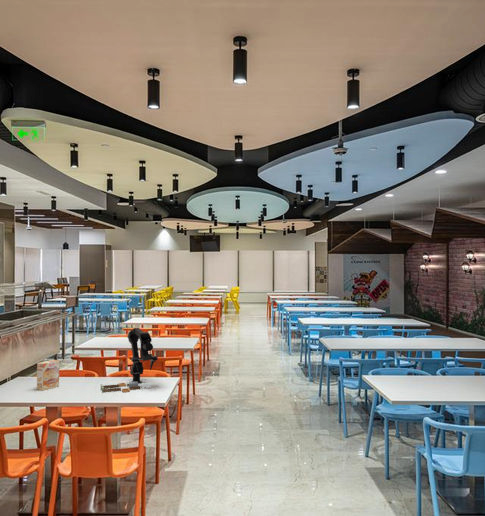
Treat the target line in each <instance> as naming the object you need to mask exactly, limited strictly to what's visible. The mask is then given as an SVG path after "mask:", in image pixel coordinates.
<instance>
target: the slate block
mask: <svg viewBox="0 0 485 516" xmlns="http://www.w3.org/2000/svg"><path fill="white" fill-rule="evenodd" d="M128 384H129V387H135V386H139V383H138V382H137V381H136V382H132V381H129V382H128ZM129 387H128V388H129Z"/></svg>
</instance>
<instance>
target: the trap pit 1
mask: <svg viewBox="0 0 485 516" xmlns="http://www.w3.org/2000/svg"><path fill="white" fill-rule="evenodd" d="M118 384H119V387H118V388H122V387H127V383H126V382H120V383H118Z"/></svg>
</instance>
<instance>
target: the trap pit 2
mask: <svg viewBox="0 0 485 516" xmlns="http://www.w3.org/2000/svg"><path fill="white" fill-rule="evenodd" d="M121 392H122V393H130V392H131V390H130V389H129V387H127V388H126V387H125V388H121Z"/></svg>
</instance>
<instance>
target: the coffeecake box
mask: <svg viewBox="0 0 485 516" xmlns="http://www.w3.org/2000/svg"><path fill="white" fill-rule="evenodd" d="M36 365H37V366H36V367H37V368H36V390H37V389H38V390H39V391H46V390H51V389H53V388H58V387H60V360H58V359H49V360H45V361H41V362H37V363H36ZM57 386H58V387H57Z"/></svg>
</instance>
